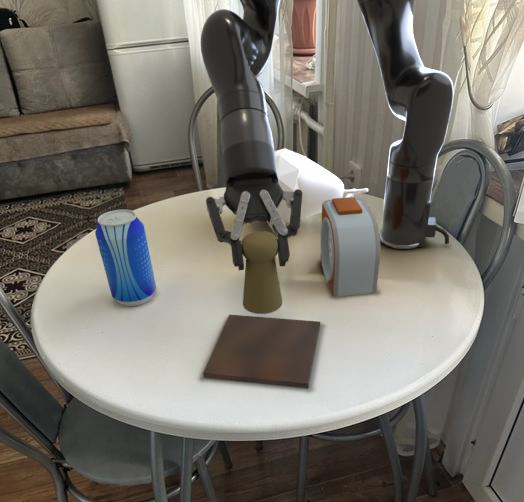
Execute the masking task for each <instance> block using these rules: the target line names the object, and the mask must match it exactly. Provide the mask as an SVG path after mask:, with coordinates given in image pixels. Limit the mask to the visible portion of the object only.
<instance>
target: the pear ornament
mask: <svg viewBox="0 0 524 502" xmlns="http://www.w3.org/2000/svg"><path fill="white" fill-rule="evenodd" d="M274 152H275V160H276V167H277V175H278V182H279V185H280V186H281V188H282V189H283V191H289V192H294V191H295V190H297V189H299V190H301V191H302V205H301V217H300V222H302V221H305V220H307V219H309V218H311V217H314V216H316V215H318V214H320V213H322V203H323V202H324V201H326V200H331V199H335V198H344V195H346V196H345V198H347V197H354V195H356V194H365V193H368V192H369V188H367V187H365V188H359V189H358V188H351V189H345V185H344V182H342V180H341V179H340V178H339V177H337V176H336V175H335V174H334V173H332V172H330V171H329V170H327V169H326V168H325V167H323V166H321V165H320V164H318V163H316V162H315V161H313V160H311V159H310V158H308V157H307V156H305V155H302V154H300V153H298V152H296V151H292V150H290V149H288V148H286V147H285V148H281V149H278V150H274ZM277 210H278V212H279V214H280V216H281V219H282V221H283V223H284V225H285V226H288V225H290V215H291V208H288V207H287V205H286V201H285V200H282V201H281V202H280V204H279V206H278V208H277Z"/></svg>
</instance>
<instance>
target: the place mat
mask: <svg viewBox="0 0 524 502" xmlns="http://www.w3.org/2000/svg"><path fill="white" fill-rule="evenodd" d="M320 330H321V321H318V320H306V319H294V318H293V319H292V318H280V317H266V316H252V315H241V314H240V315H239V314H229V315H228V316H227V319H226V321H225V323H224V326H223V327H222V330H221V332H220V334H219V336H218V339H217V341H216V343H215V345H214V348H213V350H212V351H211V355H210V357H209V358H208V361H207V364H206V366H205V368H204V370H203V372H202V374H203V378H205V379H214V380H224V381H231V382H232V381H233V382H242V383H243V382H244V383H253V384H263V385H273V386H280V387H281V386H282V387H283V386H284V387H290V388H291V387H292V388H300V389H301V388H302V389H309V388H310V383H311V376H312V370H313V367H314V366H313V365H314V361H315V356H316V350H317V346H318V339H319V335H320Z"/></svg>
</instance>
